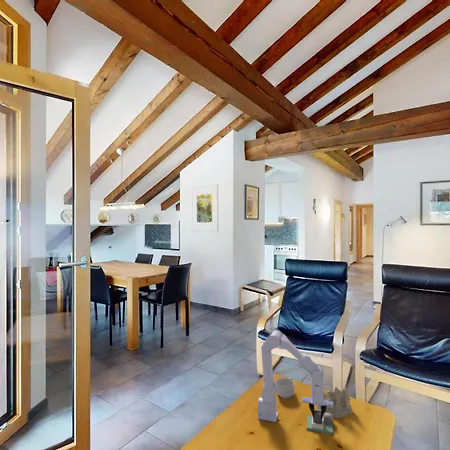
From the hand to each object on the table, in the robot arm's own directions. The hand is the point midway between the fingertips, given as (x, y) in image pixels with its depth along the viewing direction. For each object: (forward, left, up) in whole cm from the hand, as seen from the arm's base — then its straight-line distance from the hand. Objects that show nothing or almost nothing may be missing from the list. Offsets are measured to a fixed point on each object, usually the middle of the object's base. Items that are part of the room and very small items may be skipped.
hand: (317, 419), depth 153 cm
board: (+1, +1, -4) cm, 4 cm away
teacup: (-18, +25, -4) cm, 31 cm away
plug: (0, 0, -3) cm, 3 cm away
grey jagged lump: (+8, +18, -4) cm, 20 cm away
